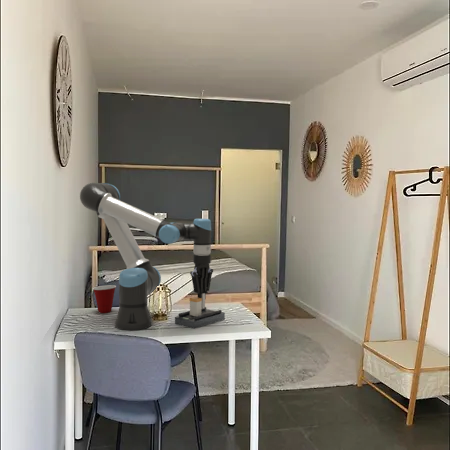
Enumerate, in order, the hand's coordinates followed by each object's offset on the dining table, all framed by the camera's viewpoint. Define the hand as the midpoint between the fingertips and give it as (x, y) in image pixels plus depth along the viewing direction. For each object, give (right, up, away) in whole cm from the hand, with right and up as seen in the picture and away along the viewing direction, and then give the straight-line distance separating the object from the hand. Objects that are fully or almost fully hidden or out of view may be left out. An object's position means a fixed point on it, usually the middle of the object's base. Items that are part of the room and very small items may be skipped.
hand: (201, 308), depth 216 cm
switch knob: (-2, -3, -3) cm, 5 cm away
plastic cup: (-46, -5, +16) cm, 49 cm away
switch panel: (-1, -6, -1) cm, 6 cm away
